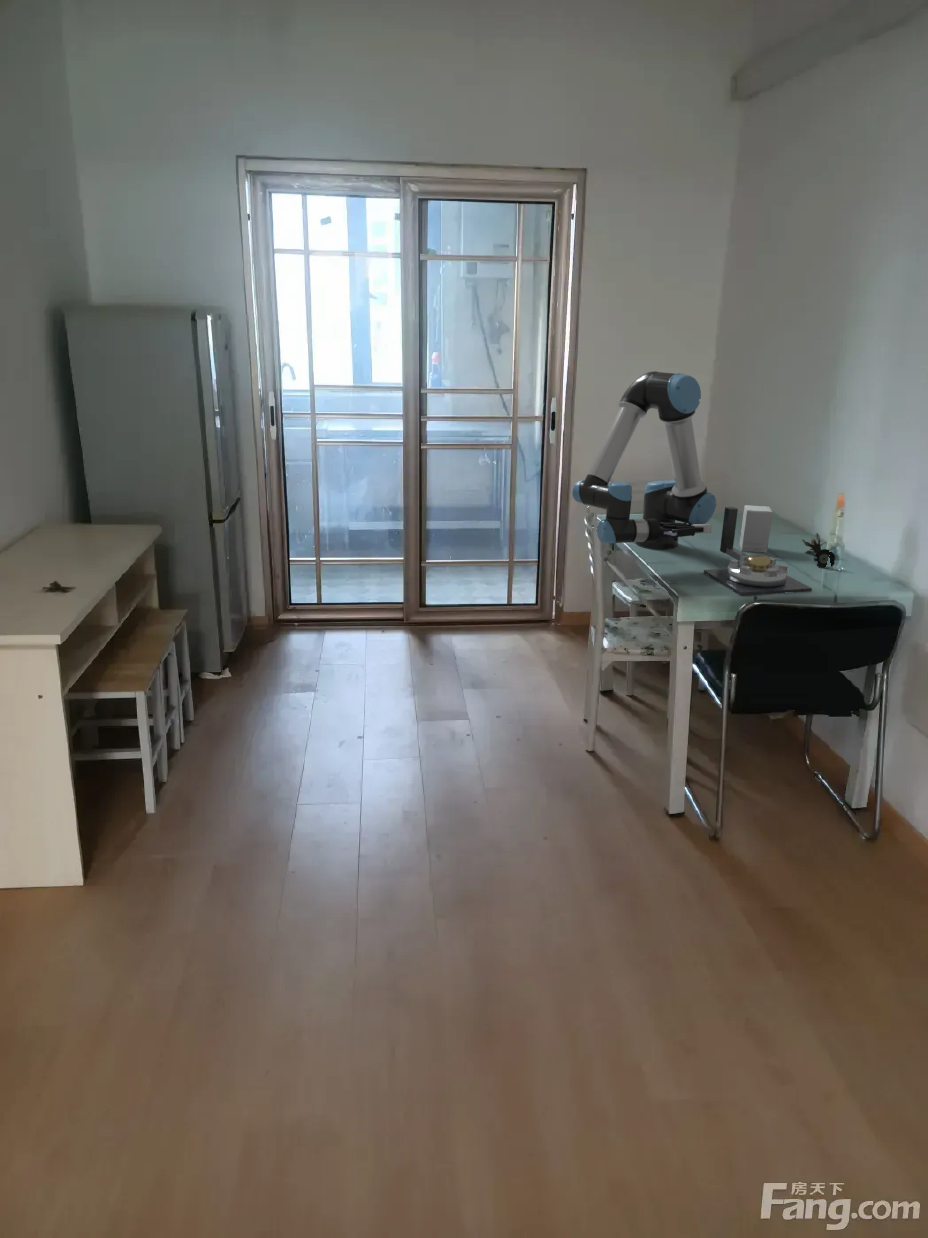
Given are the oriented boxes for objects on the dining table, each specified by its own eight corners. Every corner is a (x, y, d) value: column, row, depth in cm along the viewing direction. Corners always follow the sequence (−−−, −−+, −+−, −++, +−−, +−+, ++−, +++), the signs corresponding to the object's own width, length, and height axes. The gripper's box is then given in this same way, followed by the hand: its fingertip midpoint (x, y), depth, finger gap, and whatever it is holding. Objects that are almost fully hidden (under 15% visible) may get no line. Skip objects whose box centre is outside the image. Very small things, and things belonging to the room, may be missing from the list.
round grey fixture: (797, 584, 275) (806, 528, 269) (745, 588, 271) (752, 530, 265) (746, 557, 303) (753, 506, 297) (698, 560, 299) (704, 507, 293)
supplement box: (767, 553, 314) (773, 511, 309) (741, 551, 316) (746, 510, 311) (764, 546, 323) (770, 506, 317) (739, 544, 324) (744, 504, 319)
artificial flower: (808, 571, 299) (803, 542, 298) (804, 561, 320) (800, 534, 318) (836, 566, 296) (832, 537, 295) (831, 557, 317) (826, 529, 315)
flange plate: (703, 572, 290) (706, 549, 288) (769, 569, 296) (772, 545, 293) (740, 595, 268) (744, 570, 266) (811, 591, 274) (815, 566, 271)
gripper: (635, 536, 296) (700, 534, 301) (651, 546, 284) (718, 544, 289) (637, 514, 294) (702, 512, 299) (654, 523, 282) (721, 521, 287)
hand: (710, 528), depth 294 cm, fingers closed
